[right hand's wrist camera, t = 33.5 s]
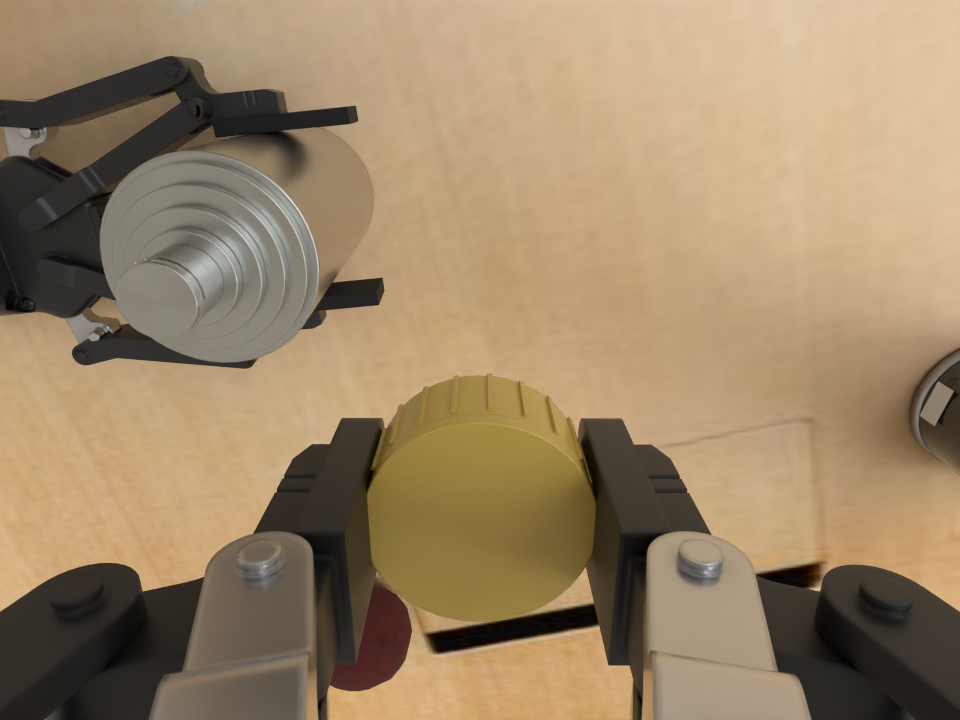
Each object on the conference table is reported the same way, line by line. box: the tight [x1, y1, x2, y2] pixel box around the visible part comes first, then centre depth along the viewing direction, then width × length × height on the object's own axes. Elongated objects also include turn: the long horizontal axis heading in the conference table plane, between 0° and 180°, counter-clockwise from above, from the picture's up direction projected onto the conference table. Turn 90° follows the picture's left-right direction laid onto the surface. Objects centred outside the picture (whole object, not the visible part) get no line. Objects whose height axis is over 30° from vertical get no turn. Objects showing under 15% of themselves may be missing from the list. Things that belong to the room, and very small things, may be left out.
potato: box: [330, 587, 412, 691], centre depth 49 cm, size 7×8×7 cm
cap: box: [367, 374, 596, 622], centre depth 11 cm, size 4×4×2 cm
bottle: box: [100, 127, 373, 363], centre depth 31 cm, size 8×8×21 cm
